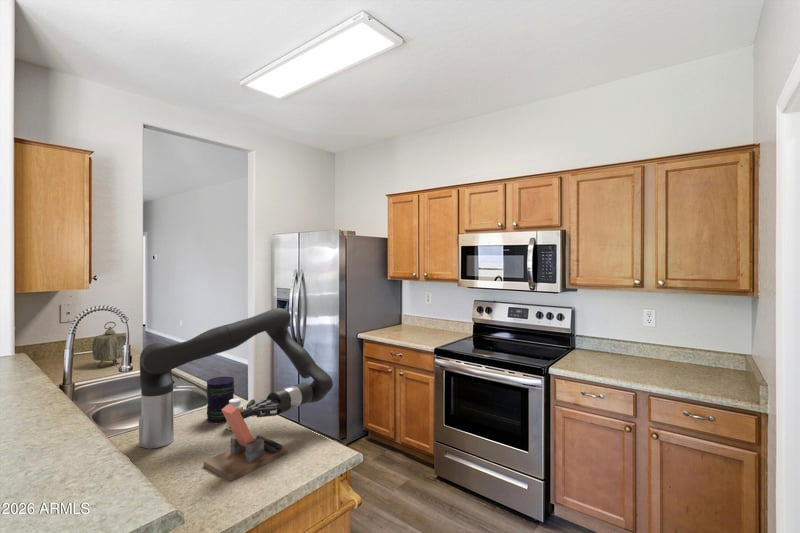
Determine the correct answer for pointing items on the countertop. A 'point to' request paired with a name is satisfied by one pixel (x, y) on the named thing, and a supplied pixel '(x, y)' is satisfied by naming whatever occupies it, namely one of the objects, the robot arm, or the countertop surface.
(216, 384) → the storage jar
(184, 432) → the countertop surface
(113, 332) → the tabletop clock
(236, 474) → the switch board
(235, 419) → the lever
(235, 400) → the supplement bottle
